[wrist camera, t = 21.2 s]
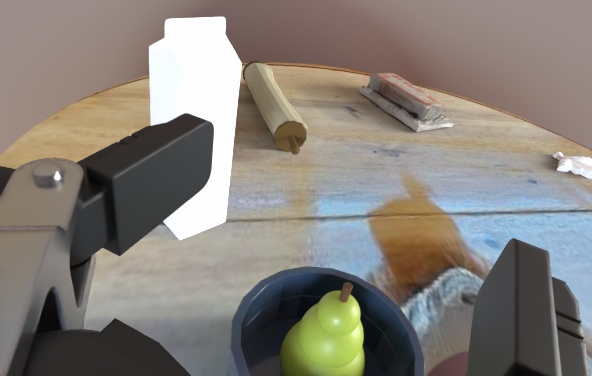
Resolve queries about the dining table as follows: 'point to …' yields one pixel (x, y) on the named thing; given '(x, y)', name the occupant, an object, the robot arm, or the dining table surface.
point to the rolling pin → (274, 107)
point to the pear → (326, 339)
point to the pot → (292, 307)
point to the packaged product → (406, 102)
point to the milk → (198, 106)
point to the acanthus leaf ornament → (574, 164)
